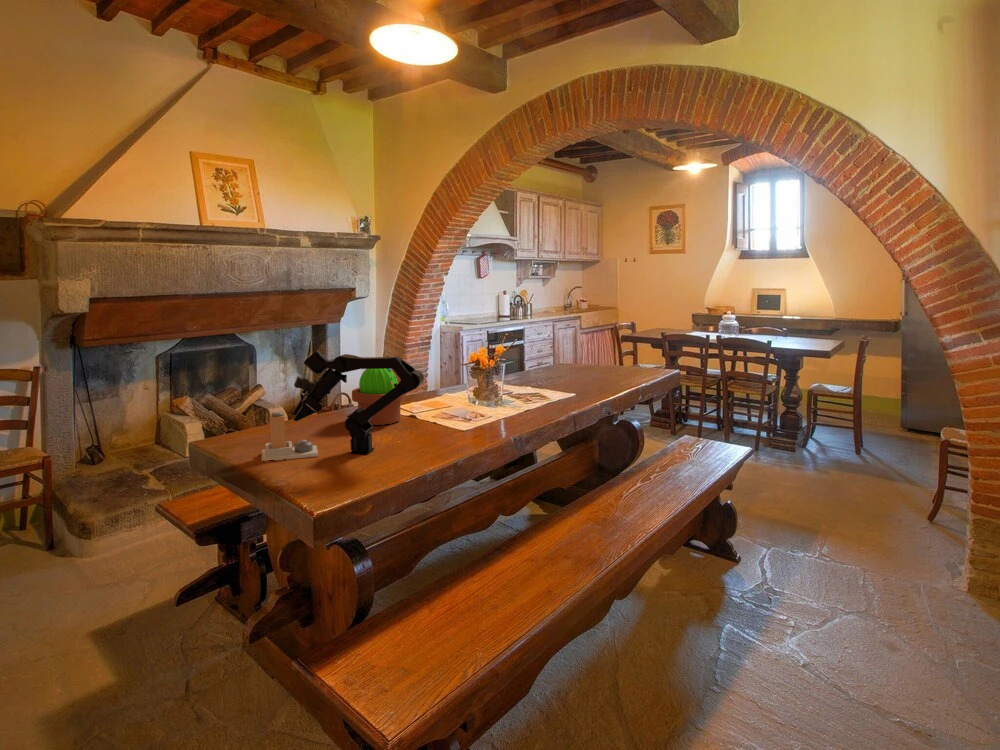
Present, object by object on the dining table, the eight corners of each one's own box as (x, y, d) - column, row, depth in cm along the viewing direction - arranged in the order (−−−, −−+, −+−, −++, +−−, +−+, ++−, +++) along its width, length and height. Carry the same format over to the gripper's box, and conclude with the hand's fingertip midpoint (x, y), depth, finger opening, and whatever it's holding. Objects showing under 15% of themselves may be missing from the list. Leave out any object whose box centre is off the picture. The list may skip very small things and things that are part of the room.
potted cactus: (343, 425, 241) (341, 366, 237) (367, 413, 262) (365, 358, 258) (393, 429, 236) (391, 368, 232) (413, 416, 257) (412, 360, 253)
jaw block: (286, 449, 203) (283, 411, 201) (286, 453, 199) (284, 414, 197) (272, 451, 202) (269, 412, 199) (272, 455, 198) (269, 415, 195)
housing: (316, 448, 210) (315, 435, 209) (318, 456, 200) (317, 443, 200) (262, 453, 203) (261, 440, 203) (261, 461, 194) (260, 448, 193)
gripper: (306, 364, 208) (275, 397, 206) (309, 372, 191) (275, 408, 189) (330, 384, 212) (300, 417, 210) (335, 394, 195) (302, 429, 193)
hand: (294, 417), depth 200 cm, fingers open, 9 cm apart
